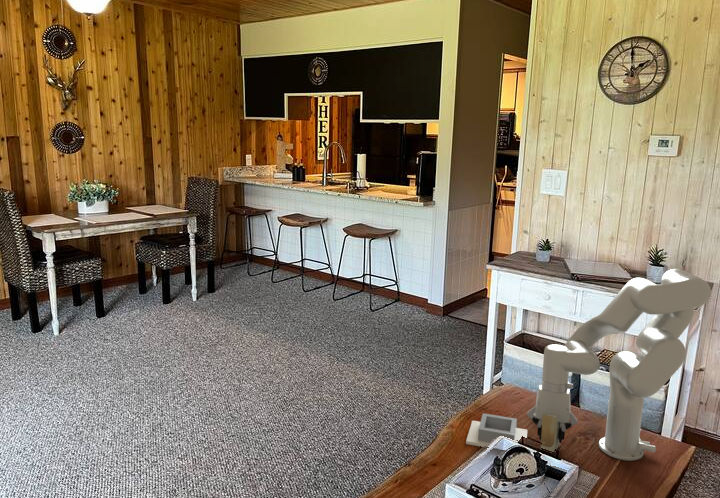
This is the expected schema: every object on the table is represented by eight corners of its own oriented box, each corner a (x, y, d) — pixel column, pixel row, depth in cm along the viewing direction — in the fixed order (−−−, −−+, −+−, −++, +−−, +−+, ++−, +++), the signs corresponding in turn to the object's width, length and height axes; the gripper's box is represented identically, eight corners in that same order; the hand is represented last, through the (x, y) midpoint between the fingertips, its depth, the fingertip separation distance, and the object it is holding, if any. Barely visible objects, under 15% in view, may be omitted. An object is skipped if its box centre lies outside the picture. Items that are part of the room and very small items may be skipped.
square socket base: (527, 432, 184) (528, 418, 183) (525, 454, 171) (526, 439, 170) (472, 423, 189) (472, 409, 188) (465, 443, 176) (466, 429, 175)
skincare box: (545, 440, 179) (548, 405, 176) (559, 444, 176) (562, 409, 174) (539, 449, 173) (542, 413, 171) (553, 454, 171) (556, 417, 169)
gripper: (583, 384, 172) (579, 438, 175) (526, 376, 177) (522, 428, 181) (585, 394, 165) (580, 450, 168) (524, 386, 170) (521, 440, 174)
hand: (550, 438), depth 174 cm, fingers closed on skincare box, 5 cm apart
